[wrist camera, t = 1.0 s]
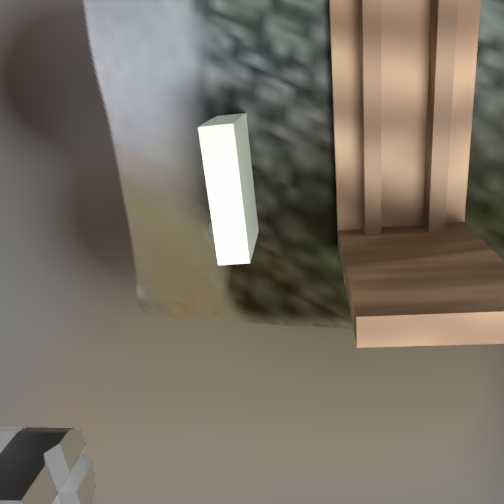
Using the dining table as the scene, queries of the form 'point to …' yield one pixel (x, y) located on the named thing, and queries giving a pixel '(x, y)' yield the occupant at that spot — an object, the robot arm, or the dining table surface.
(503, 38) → the dining table surface
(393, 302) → the track frame
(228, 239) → the door panel
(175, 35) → the dining table surface
